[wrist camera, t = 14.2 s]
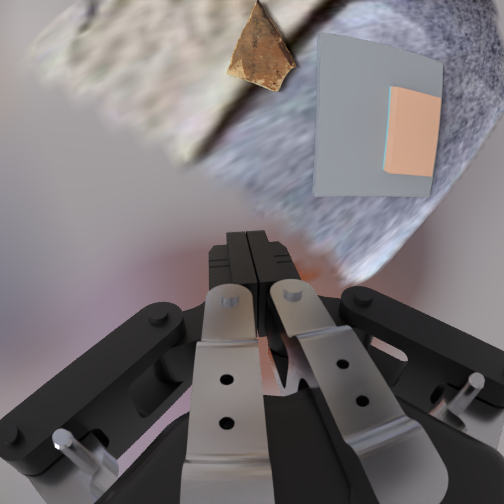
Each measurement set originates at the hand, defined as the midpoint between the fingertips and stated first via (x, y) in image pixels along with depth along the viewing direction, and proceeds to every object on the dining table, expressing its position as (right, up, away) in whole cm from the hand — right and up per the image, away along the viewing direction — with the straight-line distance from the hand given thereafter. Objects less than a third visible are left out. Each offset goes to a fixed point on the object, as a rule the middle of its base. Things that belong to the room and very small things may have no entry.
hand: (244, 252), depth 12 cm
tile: (+19, +16, +22) cm, 33 cm away
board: (+18, +18, +24) cm, 35 cm away
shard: (0, +24, +18) cm, 31 cm away
